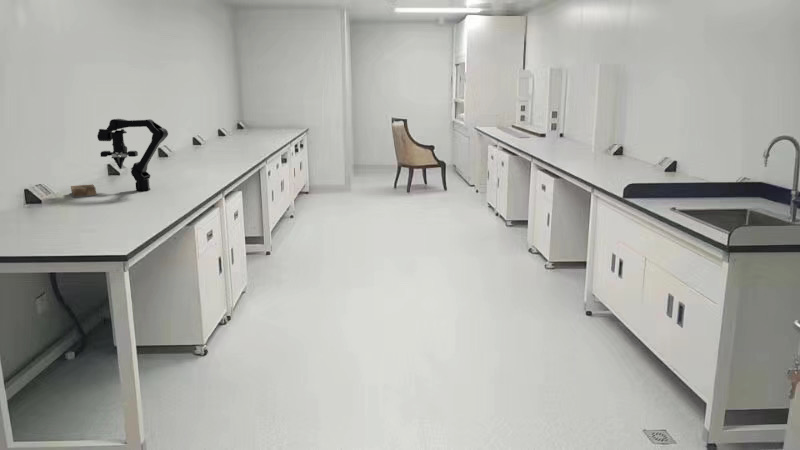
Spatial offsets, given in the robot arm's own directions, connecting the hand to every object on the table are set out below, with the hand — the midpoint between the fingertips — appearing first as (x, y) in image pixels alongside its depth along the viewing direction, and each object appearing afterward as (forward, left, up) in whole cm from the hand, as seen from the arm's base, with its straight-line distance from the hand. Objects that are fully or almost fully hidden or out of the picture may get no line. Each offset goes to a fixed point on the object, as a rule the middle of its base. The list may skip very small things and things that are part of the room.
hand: (120, 168), depth 354 cm
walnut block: (+11, +13, -10) cm, 19 cm away
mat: (+16, +15, -12) cm, 26 cm away
